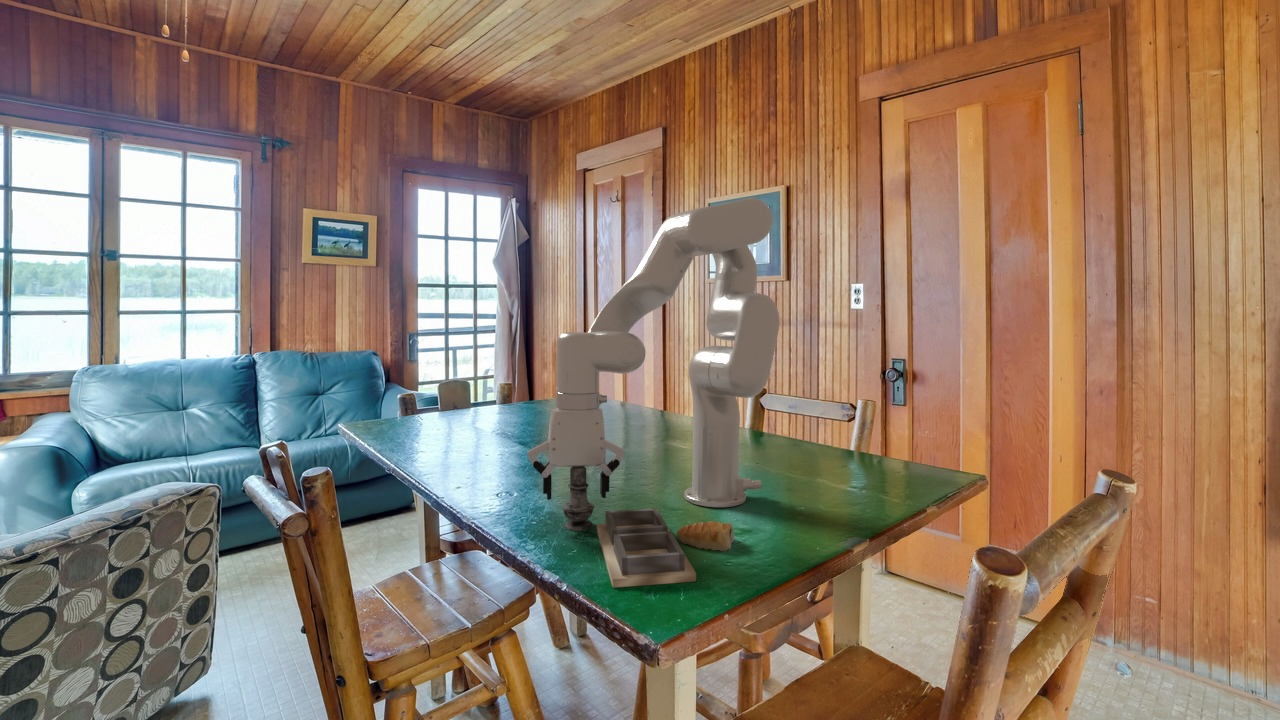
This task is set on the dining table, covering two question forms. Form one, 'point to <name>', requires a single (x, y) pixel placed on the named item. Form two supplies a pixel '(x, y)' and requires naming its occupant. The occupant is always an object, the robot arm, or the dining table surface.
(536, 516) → the dining table surface
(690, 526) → the pastry
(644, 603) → the dining table surface
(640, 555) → the collar board
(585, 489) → the salt shaker
